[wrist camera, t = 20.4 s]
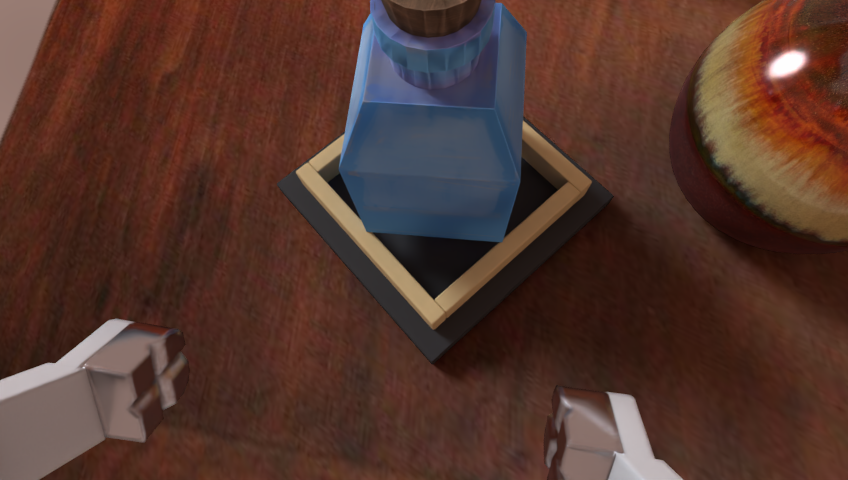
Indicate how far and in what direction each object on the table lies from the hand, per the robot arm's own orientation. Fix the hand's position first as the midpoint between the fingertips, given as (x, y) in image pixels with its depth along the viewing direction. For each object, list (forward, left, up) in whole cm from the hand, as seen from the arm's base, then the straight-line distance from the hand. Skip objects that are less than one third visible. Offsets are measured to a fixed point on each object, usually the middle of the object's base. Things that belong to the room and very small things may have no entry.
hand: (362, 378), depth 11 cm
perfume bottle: (+8, +6, -11) cm, 15 cm away
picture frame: (+8, +6, -13) cm, 16 cm away
